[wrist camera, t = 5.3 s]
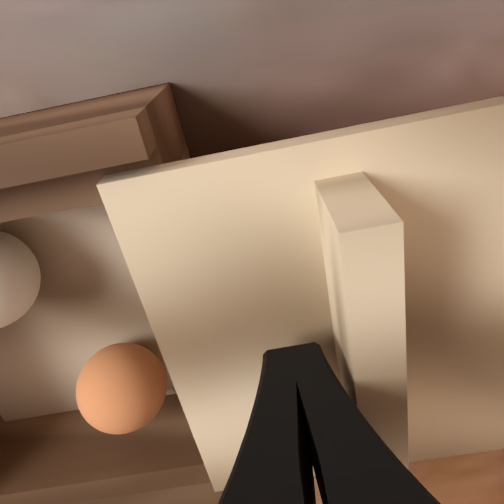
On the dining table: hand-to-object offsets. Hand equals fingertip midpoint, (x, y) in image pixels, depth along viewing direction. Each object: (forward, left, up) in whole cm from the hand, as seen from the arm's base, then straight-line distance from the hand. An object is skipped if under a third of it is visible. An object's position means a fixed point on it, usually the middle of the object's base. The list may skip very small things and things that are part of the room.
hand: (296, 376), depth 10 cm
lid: (0, -2, -1) cm, 2 cm away
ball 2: (-3, +6, -5) cm, 8 cm away
